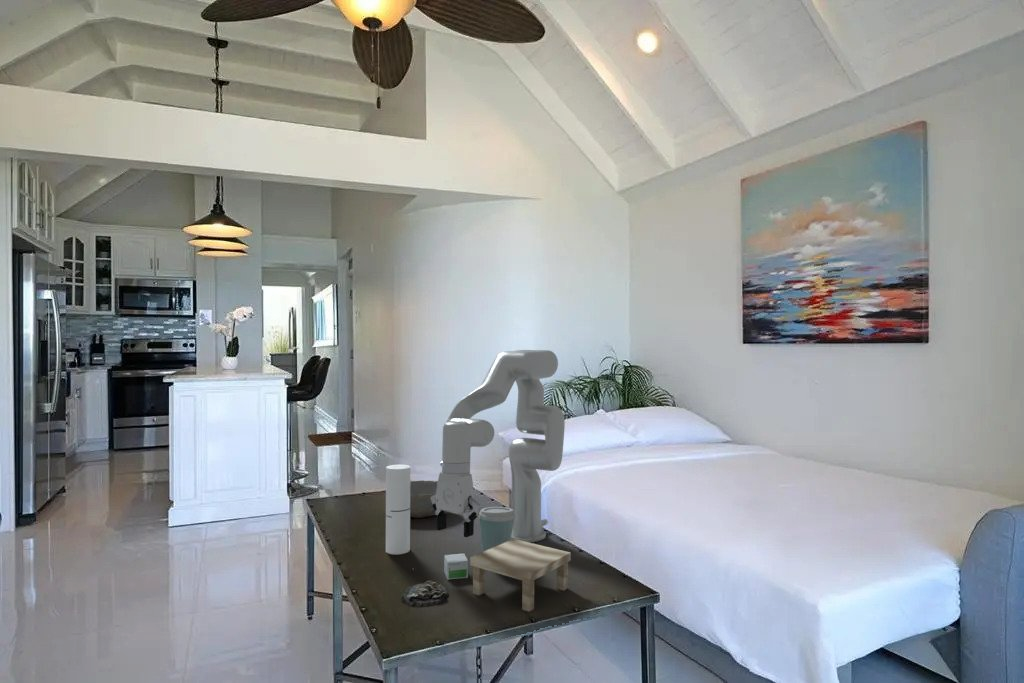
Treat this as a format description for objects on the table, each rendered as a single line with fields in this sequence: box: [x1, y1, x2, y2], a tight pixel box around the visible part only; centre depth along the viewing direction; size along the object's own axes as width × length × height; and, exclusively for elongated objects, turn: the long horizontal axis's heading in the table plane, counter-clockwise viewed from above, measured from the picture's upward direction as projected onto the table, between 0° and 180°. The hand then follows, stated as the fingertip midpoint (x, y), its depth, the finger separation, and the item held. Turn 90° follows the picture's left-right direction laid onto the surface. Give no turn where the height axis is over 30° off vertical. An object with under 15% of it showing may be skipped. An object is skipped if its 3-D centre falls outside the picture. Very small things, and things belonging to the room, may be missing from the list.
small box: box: [443, 553, 469, 581], centre depth 161 cm, size 6×6×5 cm
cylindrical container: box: [385, 464, 411, 555], centre depth 181 cm, size 7×7×25 cm
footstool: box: [469, 539, 572, 612], centre depth 151 cm, size 18×18×9 cm
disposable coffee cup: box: [478, 506, 515, 552], centre depth 172 cm, size 11×11×15 cm
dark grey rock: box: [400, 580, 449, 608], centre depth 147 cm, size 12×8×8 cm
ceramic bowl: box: [410, 480, 438, 519], centre depth 220 cm, size 22×23×10 cm
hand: (454, 532), depth 161 cm, fingers open, 9 cm apart
